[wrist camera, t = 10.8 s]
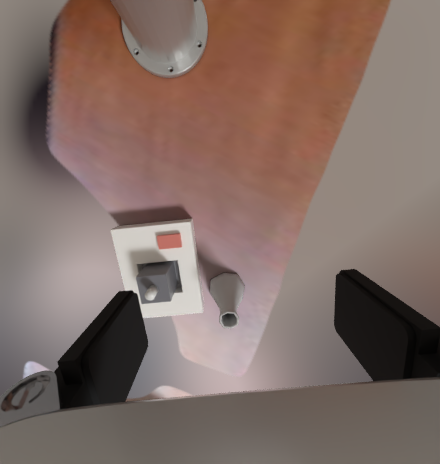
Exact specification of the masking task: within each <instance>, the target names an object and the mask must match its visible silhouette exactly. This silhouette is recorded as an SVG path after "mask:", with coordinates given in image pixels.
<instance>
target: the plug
mask: <svg viewBox="0 0 440 464" xmlns="http://www.w3.org/2000/svg"><path fill="white" fill-rule="evenodd" d="M136 281H137V285H138V290H139V294H140V299H141V303H142V304H148V303H159V302H170V301H171V300H172V297H173V295H174V292H175V289H176V287H177V278H176V272H175V266H174V261H164V262H154V263H147V264H146V265H145V267H144V268H143V269H142V270H141V271H140V273H139V274H138V275H137V276H136Z"/></svg>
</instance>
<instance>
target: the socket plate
mask: <svg viewBox="0 0 440 464" xmlns="http://www.w3.org/2000/svg"><path fill="white" fill-rule="evenodd" d="M110 231H111V235H112V239H113V243H114V248H115V252H116V256H117V260H118V264H119V268H120V273H121V277H122V281H123V285H124V289H125V291H129V290H132V291H133V292H134V293H137V295H138V299H139V303H140V308H141V312H142V317H143V318H151V317H162V316H173V315H184V314H194V313H203V310H204V298H203V291H202V284H201V277H200V269H199V262H198V255H197V248H196V241H195V233H194V226H193V219H182V220H172V221H163V222H153V223H143V224H133V225H124V226H117V227H115V228H113V229H111V230H110ZM164 261H174V266H175V272H176V278H177V287H176V289H175V292H174V295H173V297H172V300H171V301H170V302H159V303H148V304H142V303H141V299H140V294H139V290H138V285H137V281H136V276H137V275H138V274H139V273H140V271H141V270H142V269H143V268H144V267H145V265H146V264H147V263H154V262H164Z"/></svg>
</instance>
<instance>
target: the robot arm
mask: <svg viewBox="0 0 440 464" xmlns="http://www.w3.org/2000/svg"><path fill="white" fill-rule="evenodd" d="M110 1H111V2H112V4H113V6H114V7H115V9H116V10H117V12H118V14H119V15H120V17H121V23H122V32H123V36H124V40H125V42H126V45H127V47H128V49H129V51H130V52H131V54H132V56H133V57H134V58H135V60H136V61H137V62H138V64H139V65H141V66H142V67H143V68H144V69H145V70H147V71H148V72H150V73H151V74H154V75H156V76H159V77H164V78H173V77H178V76H181V75H183V74H185V73H187V72H189V71H190V70H191V69H192V68H193V67H195V65H196V64H197V63H198V62H199V60H200V59H201V57H202V55H203V53H204V50H205V47H206V44H207V37H208V23H207V15H206V11H205V7H204V4H203V2H202V0H110ZM195 1H196V2H195ZM199 46H201V47H199ZM138 53H139V54H138ZM137 54H138V55H137ZM171 70H173V72H170V71H171ZM335 289H336V291H335V316H334V326H335V329H336V331H337V333H338V334H339V336H340V337H341V338H342V339H343V341H344V342H345V344H346V345H347V346H348V348H349V349H350V350H351V352H352V353H353V354H354V356H355V357H356V358H357V359H358V361H359V362H360V364H361V365H362V366H363V368H364V369H365V370H366V372H367V373H368V374H369V376H370V377H371V378H372V379H373V381H369V382H356V383H343V384H331V385H318V386H304V387H291V388H279V389H267V390H255V391H243V392H231V393H219V394H208V395H196V396H185V397H174V398H163V399H152V400H141V401H130V402H125V401H126V398H127V396H128V393H129V391H130V389H131V386H132V384H133V382H134V379H135V377H136V374H137V372H138V370H139V367H140V365H141V362H142V360H143V357H144V355H145V353H146V350H147V347H148V339H147V334H146V331H145V326H144V321H143V317H142V312H141V308H140V303H139V299H138V295H137V293H134V292H133V291H132V290H129V291H119V292H118V293H117V294H116V295H115V296H114V298H113V299H112V300H111V301H110V302H109V303H108V304H107V306H106V307H105V308H104V309H103V310H102V311H101V313H100V314H99V315H98V316H97V317H96V318H95V320H93V322H92V323H91V324H90V325H89V326H88V328H87V329H86V330H85V331H84V332H83V333H82V334H81V335H80V337H79V338H78V339H77V340H76V341H75V342H74V344H73V345H72V346H71V347H70V348H69V349H68V350H67V352H66V353H65V354H64V355H63V356H62V357H61V358H60V360H59V361H58V365H59V367H58V368H57V369H56V370H55V372H52V371H41V372H37V373H35V374H32V375H30V376H28V377H26V378H24V379H22V380H21V381H19V382H18V383H16V384H15V385H13V386H12V387H11V388H9V389H8V390H7V391H6V392H5V393H4V394H3V395H2V396H1V397H0V464H440V327H439V326H437V325H436V324H434V323H433V322H431V321H430V320H428V319H427V318H426V317H424V316H423V315H421V314H420V313H418V312H417V311H415V310H414V309H412V308H411V307H410V306H408V305H407V304H405V303H404V302H402V301H401V300H399V299H398V298H396V297H395V296H394V295H392V294H390V293H389V292H388V291H386V290H385V289H383V288H382V287H380V286H379V285H377V284H376V283H375V282H373V281H372V280H370V279H369V278H367V277H366V276H364V275H363V274H361V273H360V272H359V271H357V270H355V269H351V270H341V271H340V273H339V274H337V275H336V288H335Z"/></svg>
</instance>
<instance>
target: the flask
mask: <svg viewBox="0 0 440 464" xmlns="http://www.w3.org/2000/svg"><path fill="white" fill-rule="evenodd" d="M244 286H245V285H244V284H243V282H242V280H241V279H240V277H239V276H238V274H230V273H222V274H220V275H218V276H216V277H215V278H213V279H211V283H210V294H211V296H212V297H213V299H214V300H215V302H216V303H217V305H218V307H219V309H220V319H219V322H220V324H221V325H222V327H223V328H230V329H231V328H233V327H235V326H237V325H238V322H239V316H238V315H237V312H236V310H237V308H238V306H239V304H240V302H241V301H242V299H243V293H244Z"/></svg>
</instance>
